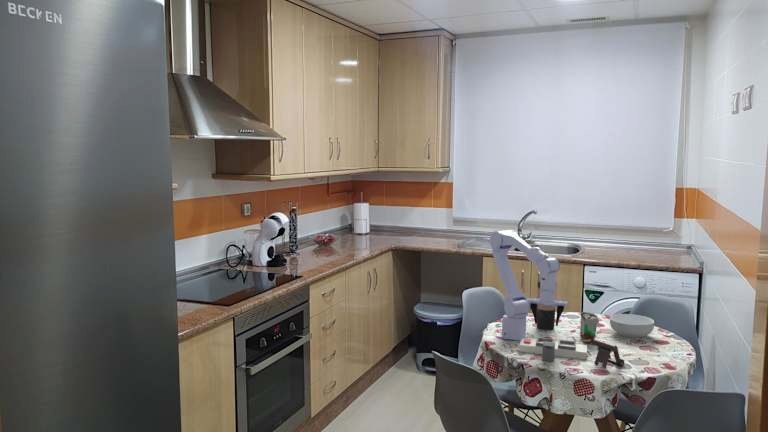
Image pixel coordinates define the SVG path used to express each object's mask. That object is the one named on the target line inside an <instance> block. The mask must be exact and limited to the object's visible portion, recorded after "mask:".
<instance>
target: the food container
mask: <svg viewBox="0 0 768 432" xmlns="http://www.w3.org/2000/svg"><path fill="white" fill-rule="evenodd" d="M599 322H600V320H599V317H598V315H597V314H595V313H592V312H587V311H580V326H579V327H580V328H579V330H580V332H579V333H580V334H579V335H580V336H579V337H580V339H581V341H582V343H583V344H585V345H588V344H593V340H594V339H596V333H597V325H598V324H599Z"/></svg>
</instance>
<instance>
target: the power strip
mask: <svg viewBox="0 0 768 432" xmlns="http://www.w3.org/2000/svg"><path fill="white" fill-rule="evenodd" d="M544 341H547V342H555V356H556V357H565V358H574V359H579V360H580V359H582V360H587V355H588V353H587V352H588V344H581V343H577V341H576V340H575V341H574V340H565V339H558V341H555V339H554V338H549V337H548V338H547V337H539V336H538V337H537V338H536V339H535V338H528V337H527V338H522V340H521V341H520V343H519V346H518V347H519V348H518V352H523V353H528V354H529V353H530V354H538V355H540V354H541V355H542V353H543V342H544ZM555 356H554V357H555Z"/></svg>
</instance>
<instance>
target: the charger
mask: <svg viewBox="0 0 768 432" xmlns="http://www.w3.org/2000/svg"><path fill="white" fill-rule="evenodd" d="M555 342H556V341H555ZM555 342H547V341H544V342H543V353H542V354H541V356H542V357H541V362H543V361H545V362H546V363H551V362H555ZM545 362H544V363H545Z"/></svg>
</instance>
